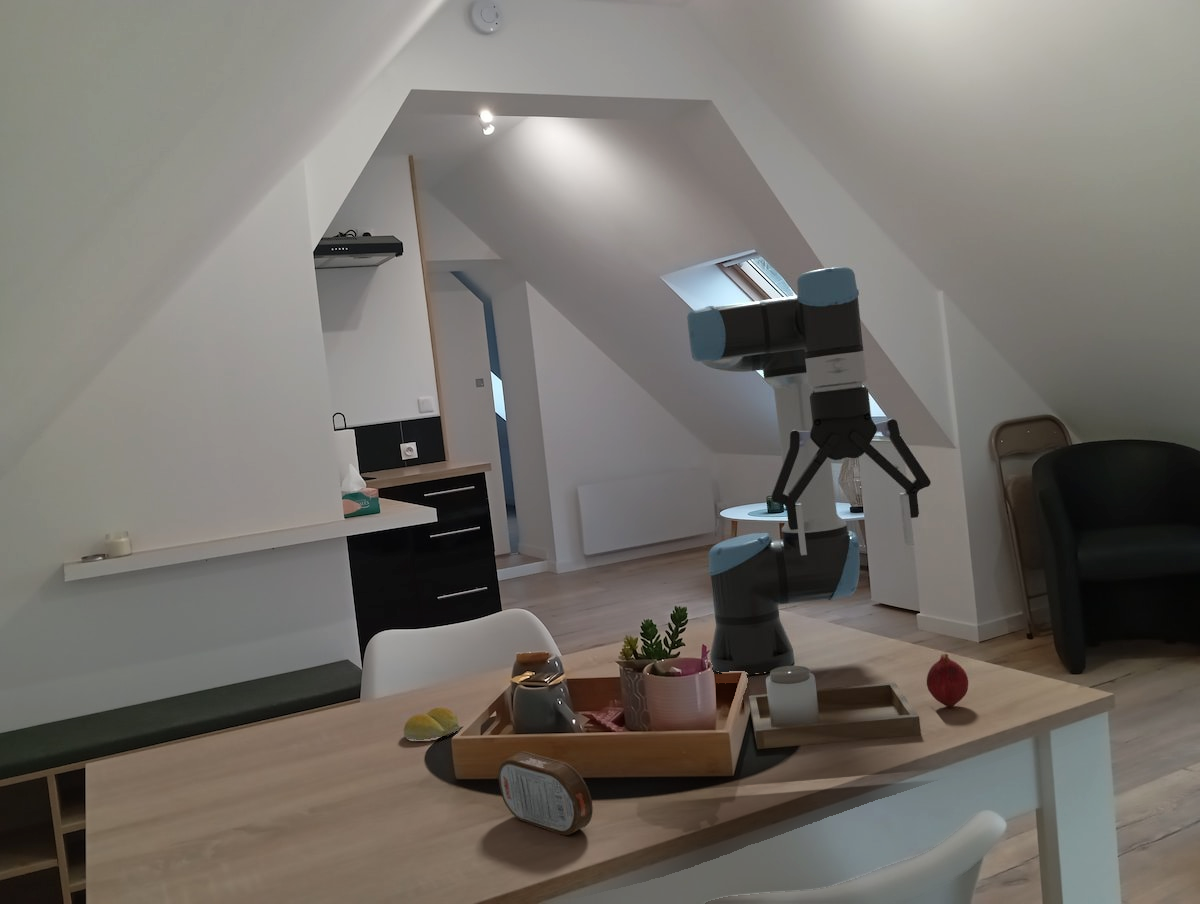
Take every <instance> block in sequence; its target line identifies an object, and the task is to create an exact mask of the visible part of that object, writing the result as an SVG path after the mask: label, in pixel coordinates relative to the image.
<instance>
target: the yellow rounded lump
mask: <svg viewBox="0 0 1200 904" xmlns="http://www.w3.org/2000/svg"><path fill="white" fill-rule="evenodd" d="M460 729H461V724H460V723H459V720H458V716H457V715H456V713H454V712H453V711H452V710H450V709H449V708H445V707H435V708H432V709H430V710H429V711H427V712H426V713H425V714H424V713H420V714H415V715H412V716H411V717H409V718H408V720H407V721H406V723H405V725H404V728H403V736H404V737H406V738H408V739H414V740H415V739H416V740H424V739H431V738H436V737H441V736H444V735H447V734H450V733H452V732H454V733H455V732H456V731H457V732H458V731H460ZM457 732H456V733H457ZM456 733H455V734H456ZM406 738H405V739H406Z"/></svg>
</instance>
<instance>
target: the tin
mask: <svg viewBox="0 0 1200 904" xmlns="http://www.w3.org/2000/svg"><path fill="white" fill-rule="evenodd" d="M497 778H498V784H499V789H500V793H501V797H502V801H503V802H504V804H505V806H506V807H507V809H508V810H509V812H510V813H511V814H512V815H514V817H515V818H516V819H518V820H519V819H520V821H521V820H522V821H521V822H524V821H525V822H524V823H526V822H527V824H529V823H530V825H532V824H533V825H532V826H535V827H538V828H540V827H541V828H540V829H543V828H544V830H546V829H547V831H550V832H551V833H555V834H557V833H558V835H560V834H561V835H562V836H569V835H572V834H574V833H575V832H577V831H579V830H580V829H584V828H585V827H587V826H588V825H589V824H590V823H591V822H590V821H591V820H592V817H593V812H594V811H593V810H594V809H593V808H594V807H593V801H592V797H591V793H590V790H589V787H588V785H587V783H586V781H585V780H584V779H583V777H582V775H581V774H580V773H579V772H578V771H577V770H576V769H575V768H574V767H573V766H572V765H570V764H568V763H567V762H564V761H561V760H556V759H553V758H550V757H546V756H543V755H538V754H535V753H532V752H528V751H525V750H524V751H518V752H516V753H515V754H514V755H512V756H510V757H508V758H507V759H505V760H504V761H503V762H502V763H501V764H500V766H499V768H498V771H497ZM561 835H560V836H561Z"/></svg>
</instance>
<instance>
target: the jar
mask: <svg viewBox="0 0 1200 904" xmlns="http://www.w3.org/2000/svg"><path fill="white" fill-rule="evenodd" d="M815 676H816V675H815V674H813V673H812V672H810V669H809V668H808V667H806V666H803V665H790V666H784V667H779V668H775V669H773V670H771V671H770V673H769V675H768V676H766V678H765V685H766V687H765V688H766V694H767V696H768V705H769V713H770V722H771V727H778V726H789V725H800V724H811V723H820V718H819V709H818V701H817V692H816V690H817V685H816V684H817V683H816V677H815Z"/></svg>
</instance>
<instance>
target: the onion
mask: <svg viewBox="0 0 1200 904" xmlns="http://www.w3.org/2000/svg"><path fill="white" fill-rule="evenodd" d="M926 686H927V689H928V691H929V693H930V695H931V696H932V697H933V699H935V701H937V702H939V703H940V704H942V705H944V706H945V707H947V708H952V707H954V706H955V705H956V704H957V703H959V702H960V701H962V700H963V699H964V697H965V696H966V695H967V692H968V690H969V678H968V675H967V672H966V671H965V669H964V668H963V667H962V666H961V665H960V664H959V663H957V662H956V661H954V660H952V659H950V657H949V654H947V653H946V652H943V653H942V654H940V658H939V660H938V661H936V662H935V663H934V664H932V666H931V667H930V669H929V670H928V673H927V676H926Z"/></svg>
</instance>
